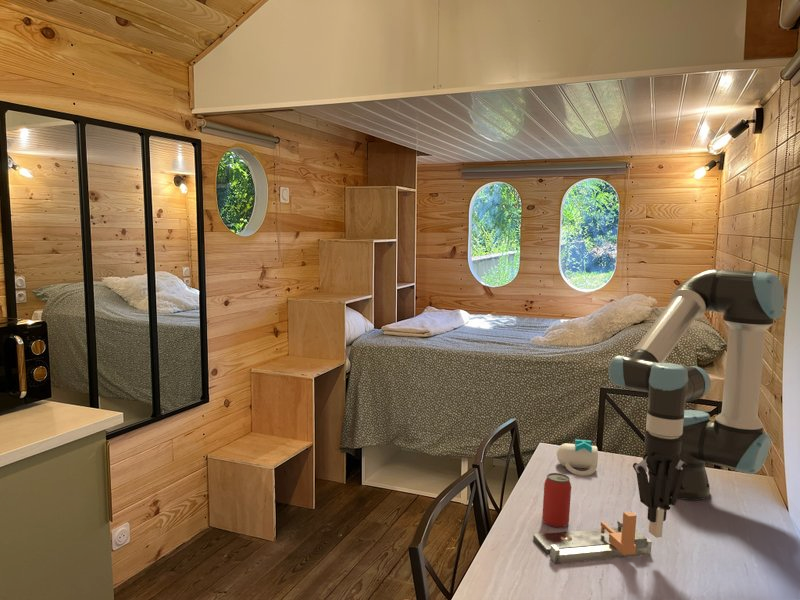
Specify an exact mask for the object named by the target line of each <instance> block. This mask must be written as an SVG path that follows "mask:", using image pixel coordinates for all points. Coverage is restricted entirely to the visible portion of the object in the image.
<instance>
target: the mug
mask: <svg viewBox="0 0 800 600" xmlns="http://www.w3.org/2000/svg"><path fill="white" fill-rule="evenodd" d="M598 453H599V451H598V447H597V445H592V440H589V439H577V438H575V440H574V443H566V442H565V443H562V444H561V445H559V447H558V448H557V450H556V458H557V461H558V463H559V464H560V465H562V466H563V467H565V468H566V469H567V471H569V472H570V473H572V474H574V475H576V476H584V477H585V476H586V477H587V476H591V475H592V474H594V473H595V471H596V470H597V468H598V462H599V461H598V460H599V454H598ZM575 468H578V469H586V470H578V469H575Z"/></svg>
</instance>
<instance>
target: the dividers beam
mask: <svg viewBox="0 0 800 600" xmlns="http://www.w3.org/2000/svg"><path fill="white" fill-rule="evenodd" d="M616 522H617V527H618V532H621V527H622V523H623V520H621V519H620V520H617V521H616ZM652 543H653V542H652V540H650V539H649V538H648V537H646V536H645V535H644V534H643V533H641V532H640V531H639V530H638V529H636V530H635V542H634V544H635V545H636V554H630V555H623V554H622V553H621V552H620V551H618V550H617V549H616V548H615V547H614V546H613V545H601V546H590V547H579V548H568V549H559V548H558V547H557V546H556V545H551V552H550V554H549V559H550V560H551V561H552V562H553V564H554V565H561V564H569V563H581V562H582V563H583V562H590V561H591V562H592V561H601V560H603V561H604V560H612V559H622V558H623V559H624V558H633V557H634V558H635V557H643V556H651V555H652V546H653V544H652Z"/></svg>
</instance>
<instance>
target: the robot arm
mask: <svg viewBox="0 0 800 600" xmlns="http://www.w3.org/2000/svg"><path fill="white" fill-rule="evenodd" d="M784 306H785V292H784V287H783V283H782V282H781V278H779V277H778V276H777V275H776V274H775V273H771V272H763V271H758V270H756V271H755V270H754V271H753V270H732V269H720V268H713V269H708V270H704V271H701V272H699V273H696V274H694V275H692V276H690V277H689V278H688V279H686V280H684V281H683V282H682V283H680V285H679V286H677V287H676V289H674V291H673V292H672V293H671V294H670V296H669V303H668V305H667V306H666V307H665V308H664V310H663V312H661V314H660V315H659V316H658V318H657V319H656V320H655V321H654V323H653V324H652V325H651V327H650V328H649V329H648V330H647V332H646V333H645V334H644V335H643V337H642V338H641V339H640V341H639V342H638V343H637V345H636V346H635V347H634V348H633V349H632V351H630V353H629V354H628V355H627V356H626V355H616V356H614V357H613V358H612V359H611V360H610V362H609V365H608V376H609V380H610V382H611V383H612V384H613V385H616V386H619V387H623V388H625V389H631V390H635V391H640V392H645V393H648V398H647V399H648V401H647V410H646V421H645V422H646V424H645V425H646V426H645V429H646V432H645V433H644V444H643V445H644V449H645V452H644V455H643V457H642V460H641V461H640V462H639V463H637V462H633V464H632V468H633V470H634V471H635V474H636V480H637V487H638V495H639V501H640V503H642V504H643V505H644V506H646V507H647V517H646V518H647V520H648V521H649V525H648V533H649V534H651V535H652V536H653V537H654V538H662V537H663V528H664V522H666V520H667V511H670V510H671V506H675V505H676V503H677V500H678V499H681V500H690V501H692V500H693V501H697V500H698V501H699V500H705V499H707V498H709V497H710V492H711V484H710V483H709V478H708V474H707V471H706V463H708V464H709V463H710V464H713V465H716V466H719V467H722V468H726V469H730V470H733V471H735V472H737V473H738V472H739V473H740V472H741V473H743V474H744V473H745V474H749V475H753V474H756V473H758V472H759V471H760V470H761V469H762V467H763V465H764V464H765V462H766V460H767V457H768V454H769V451H770V448H771V442H772V440H771V436H770V434H769V433H767V432H764V423H763V422H762V420H760V419H759V417H758V415H759V405H760V395H761V386H762V385H761V384H762V374H763V363H764V352H765V343H766V342H765V341H766V331H767V330H768V329H769V328H771V327H773V325H774V320H776V319H779V318H781V317H782V314H783V312H784V310H783V309H784V308H785V307H784ZM707 312H716V313H723V318H722V320H723V322H724V323H725V324H726V325H727V326H728V333H727V346H726V356H725V367H724V368H725V369H724V380H723V381H724V382H723V389H722V390H723V393H722V394H723V395H722V401H721V402H722V403H721V404H722V405H721V406H722V407H721V412H720V413H718V414H717V415H716V416H715V417H714V420H711V415H710V414H709V413H708V412H705V411H703V410H696V409H695V410H694V409H685V408H686V403H688V402H691V401H692V402H693V401H695V400H696V401H697V400H699V399H701V398H702V397H703V396H705V395H707V393H708V392H709V390H710V389H711V385H712V384H711V383H712V382H711V378H710V375H709V374H708V373H707V371H706V370H704V369H703V368H702V367H700V366H696V365H688V366H687V365H686V366H684V365H682V364H678V363H673V362H672V363H670V362H665V361H666V359H667V357H669V355H670V354H671V353H672V351H673V350H674V348H675V347H676V345H677V344H678V343H679V342H680V340H681V339H682V337H684V335H685V334H686V332H687V331H688V329H689V328H690V327H691V325H692V323H693V322H694V321H695V320H696V319H699V318H701V317H703V315H704V314H705V313H707Z"/></svg>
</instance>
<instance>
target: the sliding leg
mask: <svg viewBox="0 0 800 600" xmlns="http://www.w3.org/2000/svg"><path fill="white" fill-rule="evenodd" d="M622 522H623V523H622V533H621V532H620V533H616V532H615V531H614V530H613V529H612V528H613V527H610V526H609V525H608V524H607V523H606V522H605V521H601V522H600V527H601V528H600V529H601V533H603V534H604V532H605V529H606V530H607V531H608V532H609V542H610V543H611V544H612V545H613V546H614V547H615V548H616V549H617V550H618V551H620V552H621V553H622V554H623V555H630V554H636V545H635V544H634V542H635V530H637V529H636V526H637V515H636V514H635V513H634V512H632V511H625V512H623V513H622Z"/></svg>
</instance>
